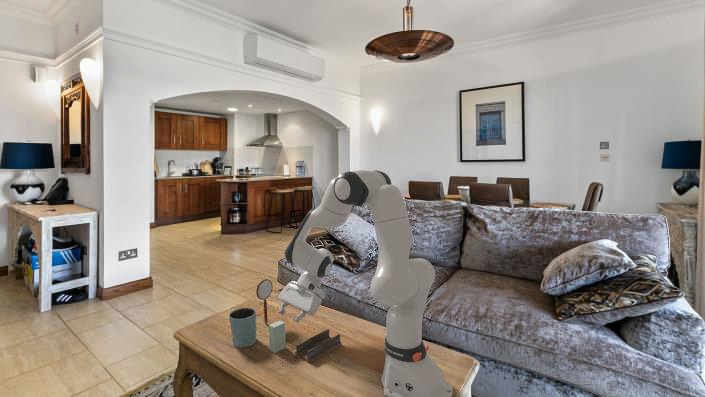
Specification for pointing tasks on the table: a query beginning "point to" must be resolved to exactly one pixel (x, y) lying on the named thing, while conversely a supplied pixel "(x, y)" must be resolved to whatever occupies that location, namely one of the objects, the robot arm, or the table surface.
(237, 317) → the blue-grey cylindrical cup
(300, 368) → the table surface
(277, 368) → the table surface
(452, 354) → the table surface
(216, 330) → the table surface
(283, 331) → the pale green eraser block
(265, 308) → the magnifying glass
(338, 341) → the track
